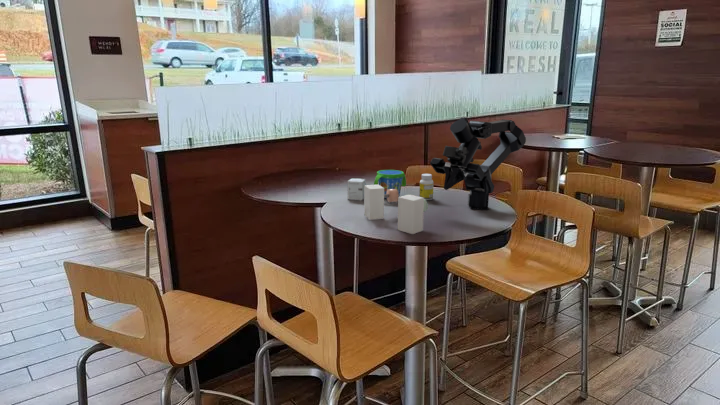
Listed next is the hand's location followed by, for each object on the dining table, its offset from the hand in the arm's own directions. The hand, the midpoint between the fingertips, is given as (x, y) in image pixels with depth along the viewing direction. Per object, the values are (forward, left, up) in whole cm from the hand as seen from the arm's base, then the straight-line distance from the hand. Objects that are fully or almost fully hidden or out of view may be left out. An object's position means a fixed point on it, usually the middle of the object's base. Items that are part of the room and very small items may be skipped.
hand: (445, 189), depth 161 cm
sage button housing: (+12, +13, -10) cm, 20 cm away
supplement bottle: (+4, -27, -10) cm, 29 cm away
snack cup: (+18, -29, -10) cm, 36 cm away
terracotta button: (+19, -3, -5) cm, 20 cm away
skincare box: (+31, -27, -11) cm, 42 cm away
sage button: (+10, +11, -5) cm, 16 cm away
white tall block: (+23, -2, -10) cm, 26 cm away
